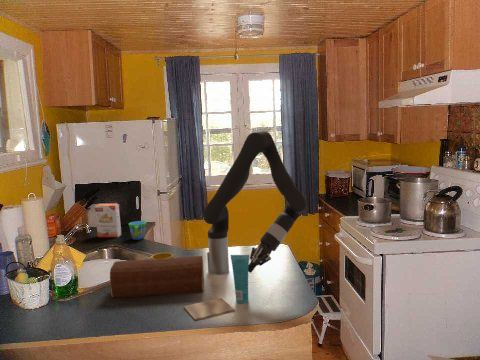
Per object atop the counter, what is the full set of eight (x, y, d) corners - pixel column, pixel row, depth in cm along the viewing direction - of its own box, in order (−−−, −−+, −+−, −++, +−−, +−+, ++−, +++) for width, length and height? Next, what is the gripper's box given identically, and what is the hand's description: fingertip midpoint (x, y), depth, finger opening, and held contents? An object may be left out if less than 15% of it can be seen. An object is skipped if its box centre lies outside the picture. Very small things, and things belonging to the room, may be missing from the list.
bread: (118, 286, 205) (115, 257, 203) (204, 280, 207) (202, 252, 205) (110, 299, 190) (108, 269, 188) (203, 293, 192) (202, 263, 190)
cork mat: (195, 320, 166) (195, 319, 166) (183, 307, 178) (183, 306, 178) (234, 310, 173) (234, 309, 173) (221, 299, 185) (221, 297, 185)
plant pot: (151, 273, 219) (149, 254, 217) (172, 270, 222) (171, 251, 220) (154, 280, 209) (152, 260, 208) (176, 277, 212) (174, 257, 211)
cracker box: (97, 237, 291) (94, 205, 288) (101, 235, 297) (98, 203, 294) (117, 237, 288) (114, 205, 285) (121, 235, 294) (119, 203, 291)
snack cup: (132, 235, 292) (131, 220, 290) (149, 234, 292) (147, 219, 290) (127, 242, 276) (125, 226, 275) (144, 241, 276) (143, 225, 275)
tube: (251, 298, 184) (249, 252, 181) (251, 303, 179) (249, 256, 176) (232, 299, 184) (230, 253, 181) (232, 304, 179) (230, 257, 177)
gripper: (260, 228, 189) (234, 261, 186) (276, 235, 178) (249, 270, 174) (271, 238, 192) (247, 271, 189) (288, 245, 181) (262, 281, 177)
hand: (248, 271), depth 182 cm, fingers closed
